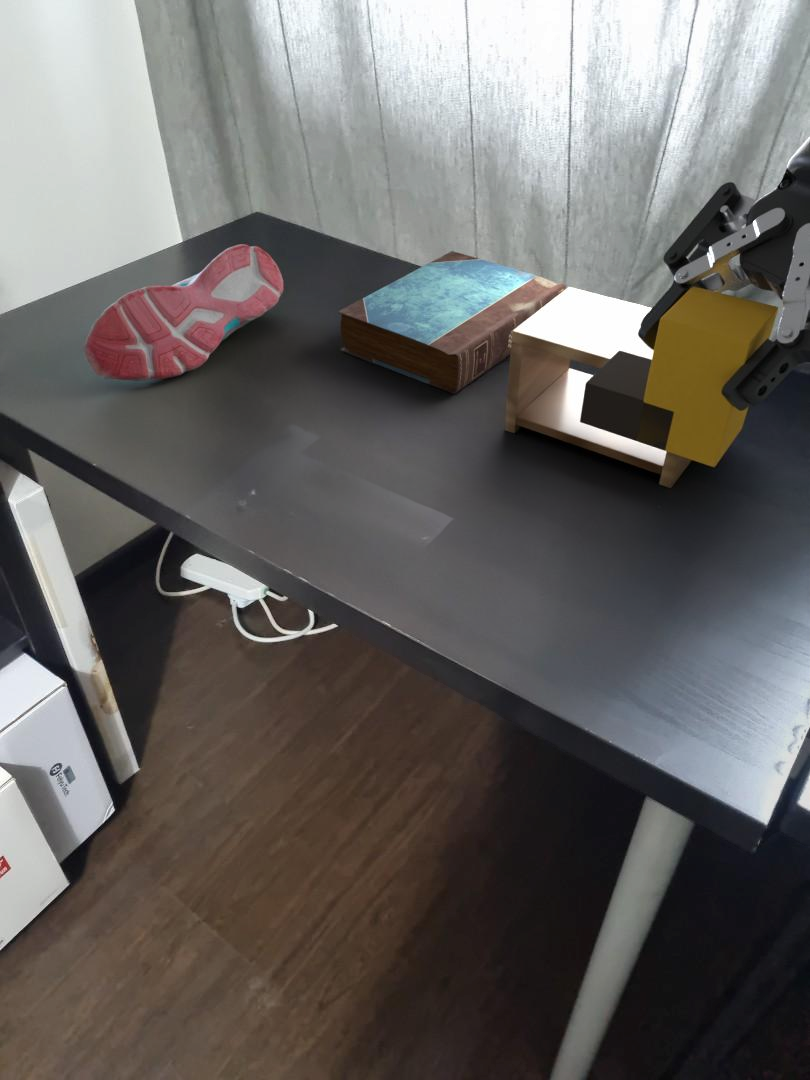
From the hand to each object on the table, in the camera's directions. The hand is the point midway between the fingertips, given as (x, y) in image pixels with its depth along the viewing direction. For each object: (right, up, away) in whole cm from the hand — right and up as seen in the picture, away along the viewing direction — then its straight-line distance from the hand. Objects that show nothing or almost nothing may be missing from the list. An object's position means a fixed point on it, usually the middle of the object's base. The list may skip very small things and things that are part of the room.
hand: (687, 371), depth 50 cm
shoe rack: (+4, +1, +36) cm, 36 cm away
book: (-11, +15, +53) cm, 56 cm away
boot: (0, -3, +5) cm, 5 cm away
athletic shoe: (-42, +13, +51) cm, 68 cm away
